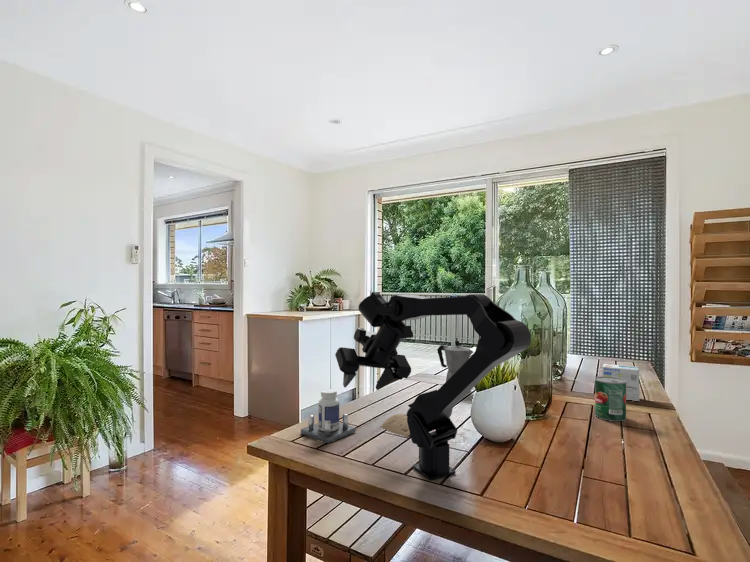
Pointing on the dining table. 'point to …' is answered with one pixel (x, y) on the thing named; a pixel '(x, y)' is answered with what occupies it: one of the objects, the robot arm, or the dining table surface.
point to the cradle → (327, 430)
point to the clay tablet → (397, 425)
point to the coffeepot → (453, 357)
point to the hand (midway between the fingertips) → (360, 387)
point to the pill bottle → (329, 409)
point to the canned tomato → (610, 398)
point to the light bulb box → (625, 378)
